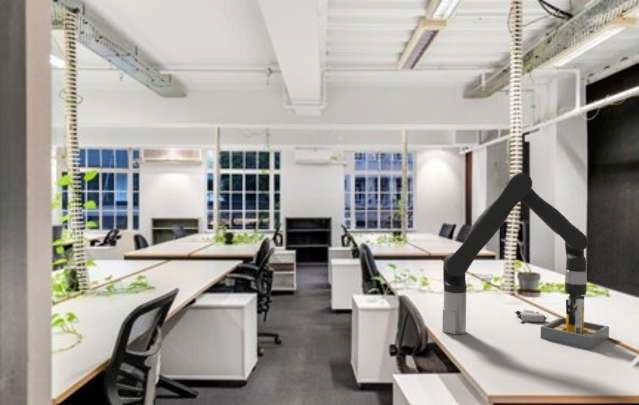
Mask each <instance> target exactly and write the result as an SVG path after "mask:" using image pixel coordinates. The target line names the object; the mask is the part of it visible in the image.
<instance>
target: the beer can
mask: <svg viewBox="0 0 639 405" xmlns="http://www.w3.org/2000/svg"><path fill="white" fill-rule="evenodd" d="M569 296H570V295H569ZM569 296H567V298H566V300H569ZM576 305H578V310H577V311H576V315H575V325H569V315H568V314H566V313H565V314H566V316H565V318H566V331H568V332H573V333H577V334H583V330H584V322H585V320H584V319H585V299H584V300H583V298H582V297H580V298H578V299H576V304H575V305H574V308H575V307H576ZM568 310H569V309H568ZM570 312H572V311H571V310H570Z"/></svg>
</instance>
